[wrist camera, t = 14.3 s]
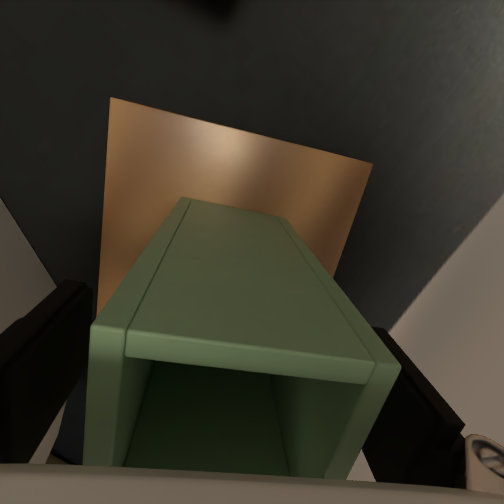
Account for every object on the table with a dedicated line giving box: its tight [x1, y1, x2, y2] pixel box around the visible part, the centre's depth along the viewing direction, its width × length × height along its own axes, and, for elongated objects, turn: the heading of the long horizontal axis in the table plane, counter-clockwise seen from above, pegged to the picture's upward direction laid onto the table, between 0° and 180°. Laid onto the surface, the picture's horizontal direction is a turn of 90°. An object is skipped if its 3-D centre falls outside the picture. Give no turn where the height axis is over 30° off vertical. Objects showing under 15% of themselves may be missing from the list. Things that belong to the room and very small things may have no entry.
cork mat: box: [96, 97, 373, 318], centre depth 18 cm, size 14×14×1 cm
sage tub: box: [83, 197, 401, 480], centre depth 12 cm, size 6×6×12 cm
